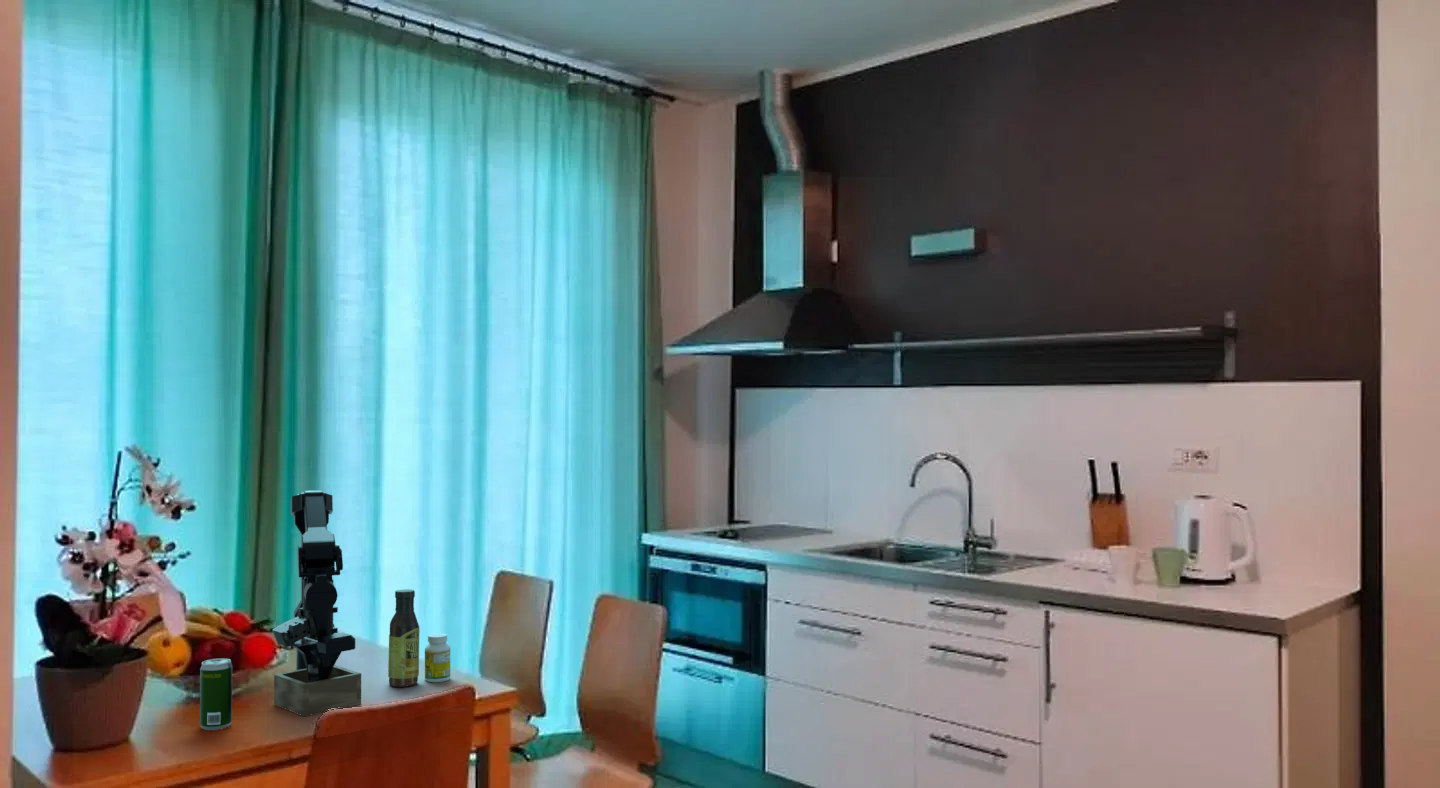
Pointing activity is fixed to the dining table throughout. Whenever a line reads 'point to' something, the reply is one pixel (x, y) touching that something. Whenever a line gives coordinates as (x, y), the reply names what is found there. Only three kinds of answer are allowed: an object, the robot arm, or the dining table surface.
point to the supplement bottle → (437, 658)
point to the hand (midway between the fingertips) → (317, 681)
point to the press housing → (317, 691)
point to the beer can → (215, 694)
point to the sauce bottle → (404, 641)
